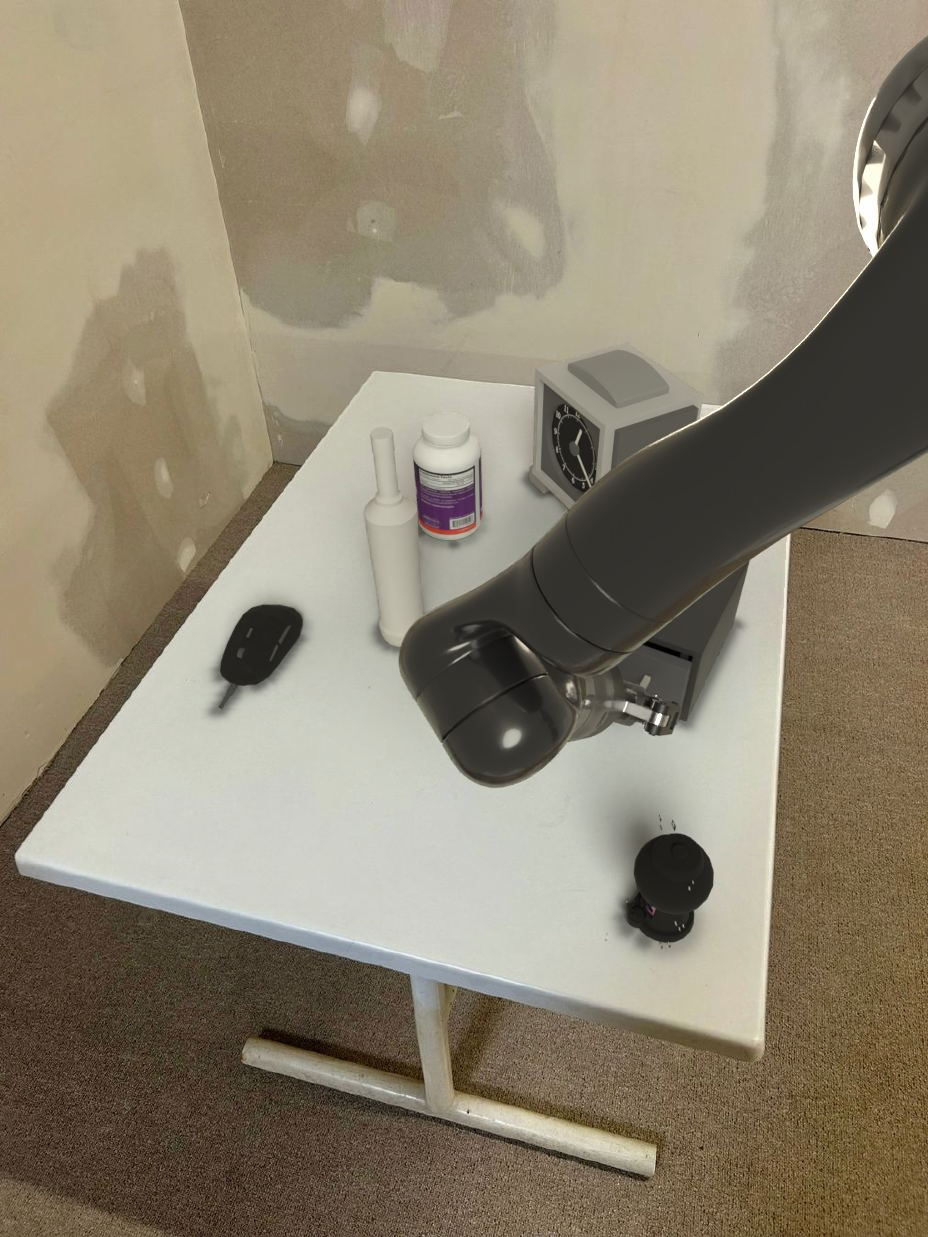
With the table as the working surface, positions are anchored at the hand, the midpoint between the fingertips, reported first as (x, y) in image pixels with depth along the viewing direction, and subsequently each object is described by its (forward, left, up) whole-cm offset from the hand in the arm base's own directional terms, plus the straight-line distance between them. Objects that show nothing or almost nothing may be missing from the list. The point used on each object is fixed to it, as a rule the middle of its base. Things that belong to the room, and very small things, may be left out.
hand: (608, 689), depth 78 cm
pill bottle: (+30, -23, -8) cm, 39 cm away
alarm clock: (+15, -37, -8) cm, 41 cm away
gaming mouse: (+37, +7, -8) cm, 38 cm away
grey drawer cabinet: (0, -14, -8) cm, 16 cm away
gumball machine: (-11, +14, -8) cm, 19 cm away
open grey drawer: (0, -10, -7) cm, 12 cm away
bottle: (+25, -4, -8) cm, 26 cm away
